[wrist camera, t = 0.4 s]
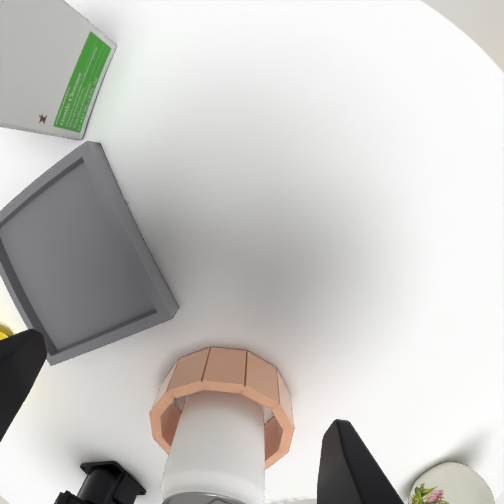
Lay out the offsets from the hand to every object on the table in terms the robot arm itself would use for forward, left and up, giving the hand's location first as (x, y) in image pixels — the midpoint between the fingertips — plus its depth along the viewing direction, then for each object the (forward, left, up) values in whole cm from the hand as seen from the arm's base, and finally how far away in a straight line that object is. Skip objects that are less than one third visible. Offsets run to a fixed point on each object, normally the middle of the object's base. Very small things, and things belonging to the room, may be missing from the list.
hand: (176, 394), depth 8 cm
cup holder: (-6, -11, -15) cm, 19 cm away
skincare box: (-6, +18, -15) cm, 24 cm away
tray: (-12, +5, -15) cm, 19 cm away
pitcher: (+10, -39, -15) cm, 43 cm away
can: (-6, -11, -15) cm, 19 cm away
